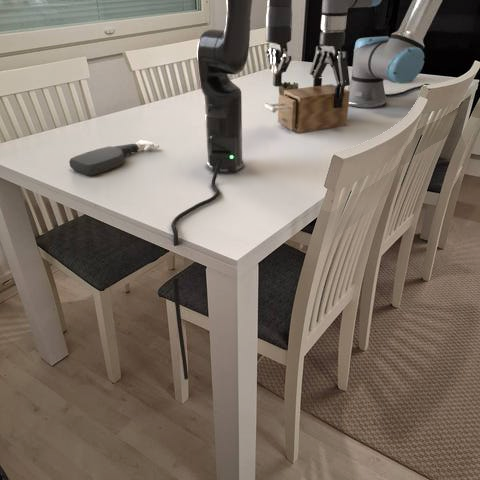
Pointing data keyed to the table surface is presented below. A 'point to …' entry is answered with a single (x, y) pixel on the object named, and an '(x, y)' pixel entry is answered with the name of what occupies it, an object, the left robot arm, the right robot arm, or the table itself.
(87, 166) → the spray bottle
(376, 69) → the right robot arm
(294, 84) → the cup
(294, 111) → the drawer
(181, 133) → the table surface
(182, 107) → the table surface
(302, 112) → the cabinet
